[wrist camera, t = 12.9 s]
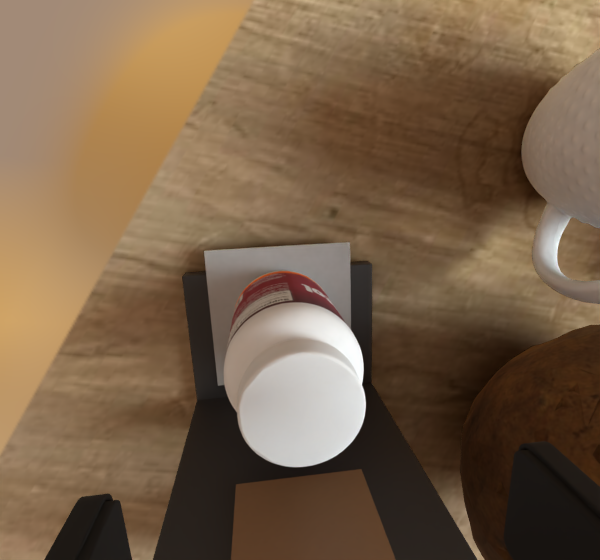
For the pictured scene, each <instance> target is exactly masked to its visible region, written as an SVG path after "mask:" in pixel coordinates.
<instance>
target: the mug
mask: <svg viewBox="0 0 600 560" xmlns="http://www.w3.org/2000/svg"><path fill="white" fill-rule="evenodd" d="M521 156H522V163H523V167H524V171H525V173H526V176H527V178H528V180H529V181H530V183H531V184H532V186H533V187H534V189H535V190H536V191H537V192H538V193H539V194H540V195H541V196H542V197H543V198H544V199H545V200H546V202H547V205H546V206H545V208H544V211H543V213H542V216H541V218H540V221H539V223H538V226H537V229H536V232H535V236H534V240H533V247H532V260H533V264H534V267H535V270H536V272H537V274H538V275H539V277H540V278H541V279H542V280H543V281H544V282H545V283H546V284H547V285H548V286H550V287H551V288H552V289H554V290H555V291H557V292H559V293H561V294H563V295H565V296H567V297H570V298H572V299H575V300H579V301H582V302H588V303H597V304H600V280H596V281H578V280H572V279H570V278H567V277H566V276H565V275H563V274H562V273H561V271H560V269H559V267H558V262H557V250H558V245H559V241H560V237H561V235H562V233H563V231H564V229H565V227H566V225H567V224H568V222H569V220H570V219H571V218H573V217H574V218H576V219H578V220H579V221H580V222H582V223H587V224H590V225H592V226H594V227H596V228H600V48H599V49H598V50H596V51H595V52H594V53H593V54H592V55H590V56H589V57H588V58H587V59H585V60H584V61H582V62H581V63H579V64H577V65H576V66H574V67H573V69H572V70H571V71H570V72H569V73H567V74H566V75H564V76H563V77H561V79H560V80H559V81H558V83H557V84H556V85H554V86H553V87H552V88H550V90H549V92H548V93H547V95H546V96H545V97H544V98H543V99H542V101H541V102H540V103H539V105H538V106H537V108H536V109H535V111H534V112H533V114H532V116H531V118H530V120H529V122H528V124H527V126H526V129H525V132H524V136H523V141H522V151H521Z"/></svg>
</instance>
